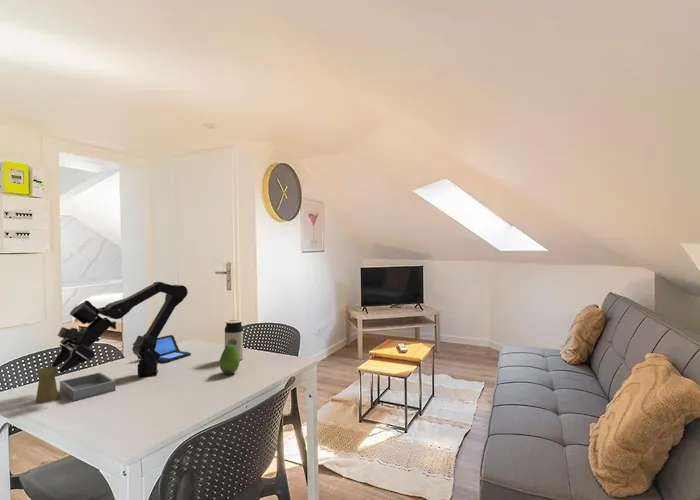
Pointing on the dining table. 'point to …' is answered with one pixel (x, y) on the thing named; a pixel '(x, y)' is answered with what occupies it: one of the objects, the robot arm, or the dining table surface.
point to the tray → (87, 386)
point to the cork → (46, 385)
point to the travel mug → (234, 335)
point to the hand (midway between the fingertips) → (56, 369)
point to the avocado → (229, 359)
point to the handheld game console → (169, 349)
